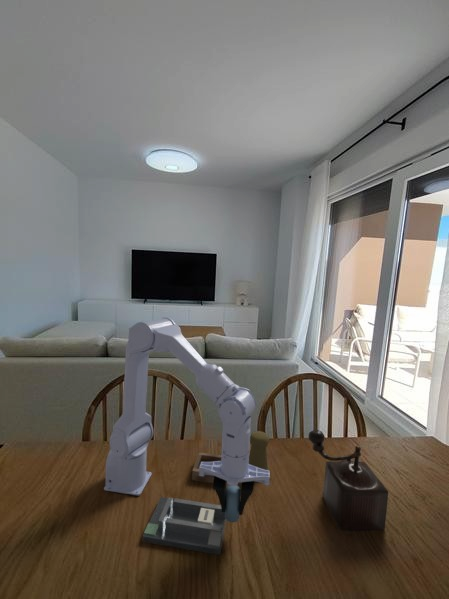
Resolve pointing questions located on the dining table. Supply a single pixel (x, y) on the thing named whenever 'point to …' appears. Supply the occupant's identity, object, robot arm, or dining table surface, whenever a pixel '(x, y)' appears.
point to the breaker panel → (185, 526)
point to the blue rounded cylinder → (232, 503)
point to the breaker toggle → (206, 516)
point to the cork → (258, 450)
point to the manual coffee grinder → (352, 490)
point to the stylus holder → (195, 472)
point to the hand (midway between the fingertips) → (232, 509)
